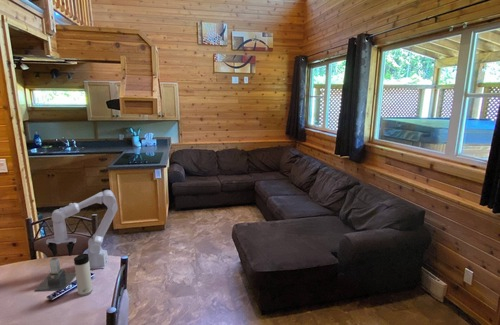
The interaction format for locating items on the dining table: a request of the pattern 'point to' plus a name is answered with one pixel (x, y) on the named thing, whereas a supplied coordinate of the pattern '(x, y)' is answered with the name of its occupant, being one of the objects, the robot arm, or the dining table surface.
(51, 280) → the stand base
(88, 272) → the travel mug
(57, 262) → the column
